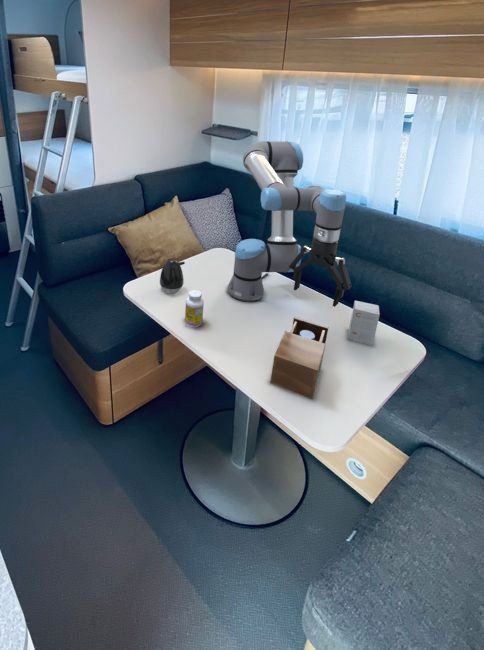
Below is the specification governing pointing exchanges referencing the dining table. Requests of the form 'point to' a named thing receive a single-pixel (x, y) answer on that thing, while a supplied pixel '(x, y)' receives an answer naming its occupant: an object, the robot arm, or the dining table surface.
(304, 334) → the light blue cylinder
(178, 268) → the pump dispenser
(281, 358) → the wooden block
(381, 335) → the dining table surface
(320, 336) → the drawer
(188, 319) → the supplement bottle
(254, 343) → the dining table surface
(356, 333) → the small box
